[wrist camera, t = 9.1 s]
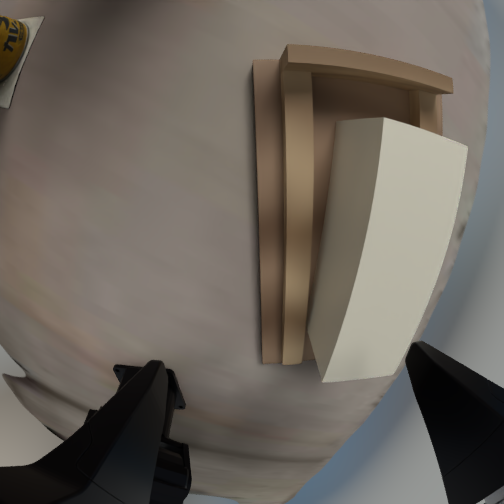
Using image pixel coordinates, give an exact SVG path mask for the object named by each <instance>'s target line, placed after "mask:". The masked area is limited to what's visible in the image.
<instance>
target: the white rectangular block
mask: <svg viewBox="0 0 504 504" xmlns="http://www.w3.org/2000/svg"><path fill="white" fill-rule="evenodd" d="M467 149H468V147H467V146H465V145H463V144H460V143H458V142H455V141H453V140H451V139H448V138H445V137H443V136H440V135H438V134H435V133H432V132H429V131H426V130H424V129H421V128H418V127H415V126H412V125H408V124H405V123H402V122H399V121H395V120H392V119H388V118H385V117H380V118H366V119H354V120H344V121H336V131H335V141H334V150H333V159H332V168H331V176H330V183H329V191H328V198H327V205H326V211H325V218H324V224H323V230H322V236H321V242H320V248H319V254H318V259H317V265H316V270H315V275H314V280H313V285H312V290H311V295H310V300H309V305H308V309H307V317H306V327H307V331H308V334H309V338H310V341H311V345H312V348H313V352H314V355H315V359H316V363H317V366H318V370H319V373H320V377H321V381H322V383H324V382H337V381H348V380H358V379H366V378H374V377H381V376H388V375H393V374H394V372H395V371H396V369H397V367H398V365H399V363H400V361H401V360H402V358H403V356H404V354H405V352H406V350H407V348H408V346H409V344H410V342H411V340H412V338H413V336H414V334H415V332H416V329H417V327H418V325H419V323H420V321H421V318H422V316H423V314H424V311H425V309H426V307H427V304H428V302H429V299H430V297H431V294H432V292H433V289H434V286H435V284H436V281H437V278H438V275H439V272H440V270H441V267H442V264H443V260H444V257H445V254H446V251H447V248H448V244H449V241H450V237H451V233H452V230H453V226H454V222H455V218H456V214H457V209H458V205H459V200H460V195H461V190H462V184H463V178H464V172H465V165H466V158H467Z"/></svg>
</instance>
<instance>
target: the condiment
mask: <svg viewBox="0 0 504 504" xmlns="http://www.w3.org/2000/svg"><path fill="white" fill-rule="evenodd" d="M43 18H44V16H40V17H33V18H26V19H18V20H15V19H11V18H8V17H5V16H0V107H4V108H9V105H10V101H11V97H12V95H13V92H14V87H15V84H16V82H17V79H18V75H19V72H20V70H21V67H22V65H23V63H24V61H25V59H26V56H27V54H28V51H29V49H30V46H31V44H32V42H33V40H34V38H35V36H36V33H37V31H38V29H39V27H40V25H41V23H42V21H43ZM6 80H7V82H5V81H6ZM4 83H5V84H4ZM3 84H4V86H3Z"/></svg>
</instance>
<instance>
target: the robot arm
mask: <svg viewBox="0 0 504 504" xmlns="http://www.w3.org/2000/svg"><path fill="white" fill-rule="evenodd" d="M405 363H406V367H407V370H408V373H409V377H410V380H411V384H412V387H413V391H414V394H415V397H416V400H417V402H418V405H419V408H420V410H421V413H422V416H423V418H424V421H425V424H426V427H427V430H428V433H429V435H430V439H431V442H432V445H433V447H434V451H435V454H436V457H437V461H438V464H439V468H440V471H441V475H442V479H443V482H444V487H445V490H446V495H447V498H448V503H449V504H476V503H478V502H480V501H481V500H483V499H485V503H484V504H504V388H502V387H500V386H498V385H497V384H495V383H493V382H491V381H490V380H487V379H486V378H485V377H483V376H481V375H479V374H478V373H476V372H475V371H473V370H471V369H470V368H468V367H466V366H464V365H463V364H461V363H459V362H458V361H456V360H454V359H453V358H451V357H449V356H447V355H445V354H444V353H442V352H440V351H439V350H437V349H435V348H434V347H432V346H430V345H429V344H427V343H425V342H423V341H417V342H413V343H412V344H411V346H410V349H409V351H408V353H407V356H406V359H405ZM113 371H114V373H115V374H116V376H117V378H118V380H119V382H120V385H119V387H118V390H117V392H116V394H115V395H114V396H113V397H112V398H111V399H110V400H109V401H108V402H107V403H106V404H105V405H104V406H103V407H102V406H101V407H100V409H99V410H91V409H90V410H89V412H88V415H87V417H86V420H85V422H84V425H83V426H82V427H81V428H79V429H78V430H77V431H76V432H75V433H74V434H73V435H72V436H70V437H69V438H68V439H67V440H65V441H64V442H63V443H62V444H60V445H59V446H58V447H57V448H55V449H53V450H52V451H51V452H49V453H48V454H47V455H45V456H44V457H42V458H41V459H40V460H38V461H36V462H35V463H32V464H29V465H25V466H10V467H0V504H183V501H184V499H185V498H186V497H187V495H188V493H189V491H190V487H191V481H192V477H191V468H190V458H189V448H188V444H185V443H179V442H177V441H174V440H171V439H169V433H170V428H171V422H172V417H173V412H174V409H185V407H186V404H185V401H184V399H183V396H182V393H181V391H180V388H179V385H178V382H177V379H176V377H175V374H174V372H173V371H172V370H171V369H165V366H164V363H163V362H162V361H161V360H151V361H149V362H148V363H147V364H146V365H145V366H144V367H136V366H125V365H114V368H113Z"/></svg>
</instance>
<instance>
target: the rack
mask: <svg viewBox="0 0 504 504" xmlns="http://www.w3.org/2000/svg"><path fill="white" fill-rule="evenodd" d="M253 86H254V110H255V136H256V164H257V193H258V224H259V258H260V294H261V335H262V362H263V364H270V363H282V364H283V365H291V364H302V361H307V360H316V359H315V355H314V352H313V348H312V345H311V341H310V338H309V334H308V331H307V327H306V317H307V309H308V305H309V300H310V295H311V290H312V285H313V280H314V275H315V270H316V265H317V259H318V254H319V248H320V242H321V236H322V230H323V224H324V218H325V211H326V205H327V198H328V191H329V183H330V176H331V168H332V159H333V150H334V141H335V131H336V121H344V120H354V119H366V118H380V117H385V118H388V119H392V120H395V121H399V122H402V123H405V124H408V125H412V126H415V127H418V128H421V129H424V130H426V131H429V132H432V133H435V134H438V135H440V136H442V96H441V94H453V81H452V78H450V77H448V76H445V75H442V74H440V73H437V72H434V71H431V70H428V69H425V68H422V67H419V66H415V65H412V64H408V63H405V62H401V61H397V60H394V59H389V58H385V57H381V56H376V55H372V54H367V53H361V52H356V51H350V50H343V49H336V48H328V47H319V46H308V45H293V44H287V46H286V48H285V50H284V52H283V54H282V56H281V58H280V60H253Z"/></svg>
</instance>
